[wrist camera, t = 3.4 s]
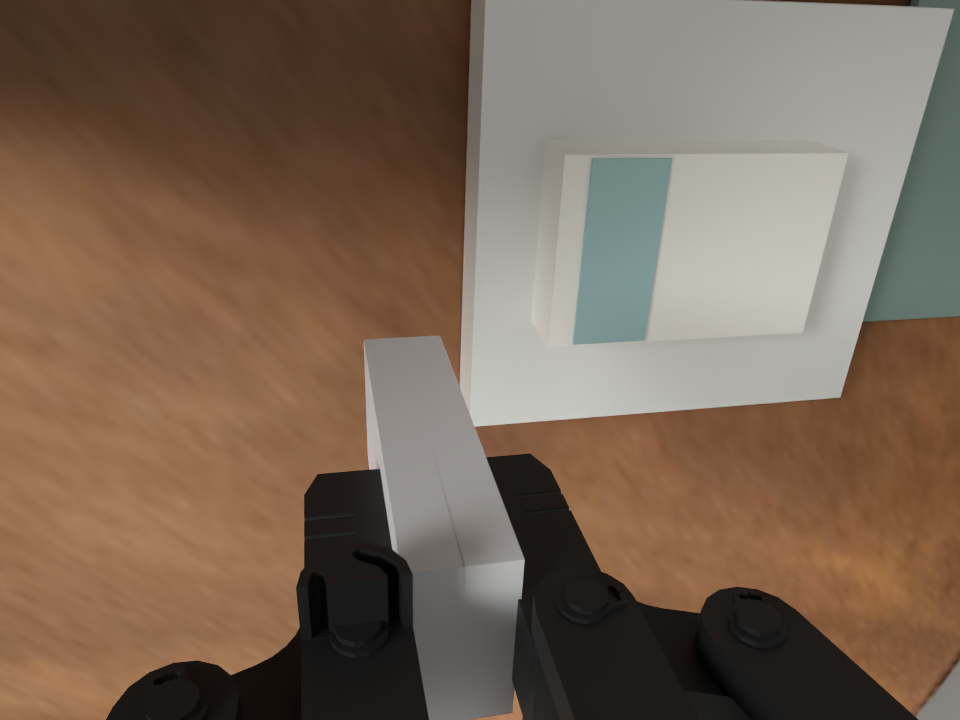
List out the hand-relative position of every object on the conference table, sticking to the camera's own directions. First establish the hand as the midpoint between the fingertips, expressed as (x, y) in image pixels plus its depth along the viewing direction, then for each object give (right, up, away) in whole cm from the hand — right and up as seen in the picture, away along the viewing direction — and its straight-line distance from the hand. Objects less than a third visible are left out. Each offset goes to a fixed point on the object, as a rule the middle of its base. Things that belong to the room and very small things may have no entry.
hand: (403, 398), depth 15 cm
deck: (+8, +6, +12) cm, 16 cm away
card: (+8, +5, +10) cm, 14 cm away
